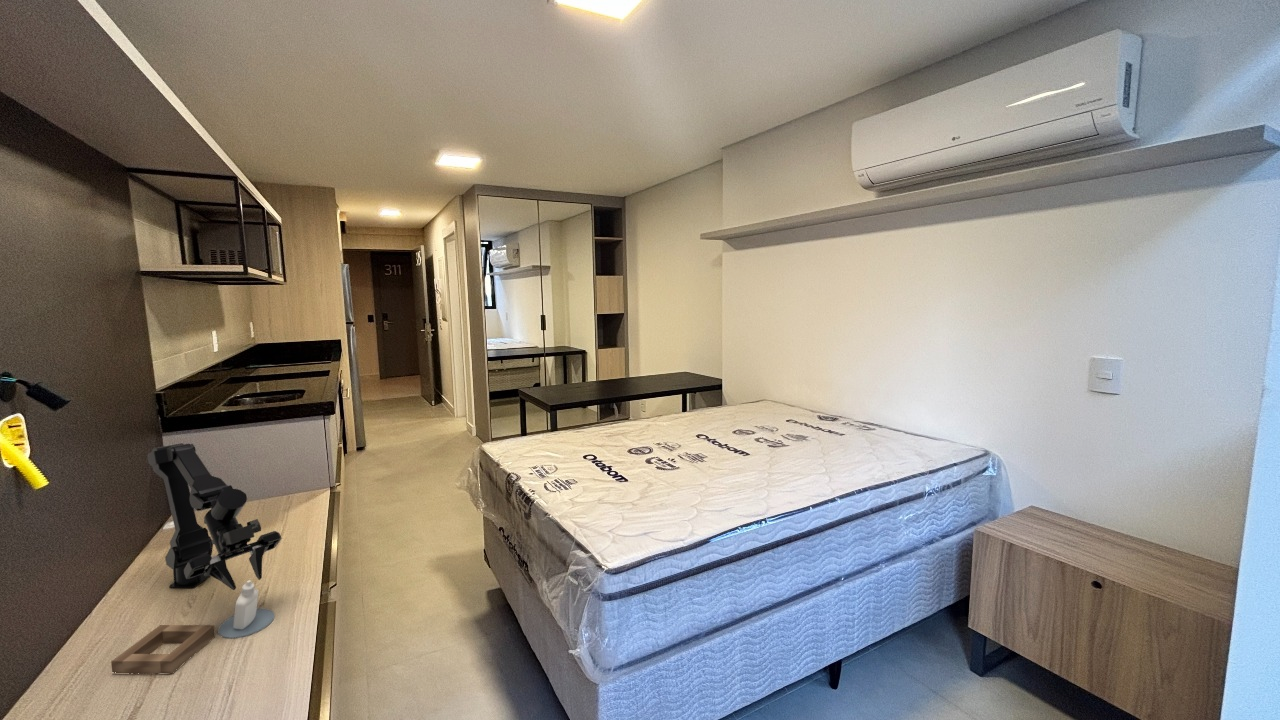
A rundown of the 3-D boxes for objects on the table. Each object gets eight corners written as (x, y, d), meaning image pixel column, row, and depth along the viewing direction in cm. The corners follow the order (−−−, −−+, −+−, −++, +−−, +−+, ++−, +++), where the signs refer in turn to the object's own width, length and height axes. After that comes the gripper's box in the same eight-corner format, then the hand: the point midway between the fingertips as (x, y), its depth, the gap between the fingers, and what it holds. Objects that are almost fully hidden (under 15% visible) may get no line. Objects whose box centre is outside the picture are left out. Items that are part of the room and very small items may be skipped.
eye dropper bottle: (262, 618, 128) (267, 579, 125) (237, 632, 122) (241, 592, 119) (251, 610, 129) (255, 571, 126) (226, 623, 124) (230, 583, 121)
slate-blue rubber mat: (206, 638, 121) (206, 636, 121) (239, 609, 131) (239, 608, 131) (255, 638, 121) (255, 636, 121) (284, 610, 132) (284, 608, 132)
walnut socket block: (112, 674, 108) (111, 661, 108) (161, 636, 120) (160, 625, 120) (172, 674, 109) (171, 661, 109) (214, 636, 121) (214, 625, 121)
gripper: (185, 526, 117) (209, 587, 113) (276, 500, 133) (300, 553, 129) (173, 549, 122) (196, 608, 118) (263, 521, 138) (285, 572, 134)
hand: (247, 583), depth 124 cm, fingers open, 5 cm apart
